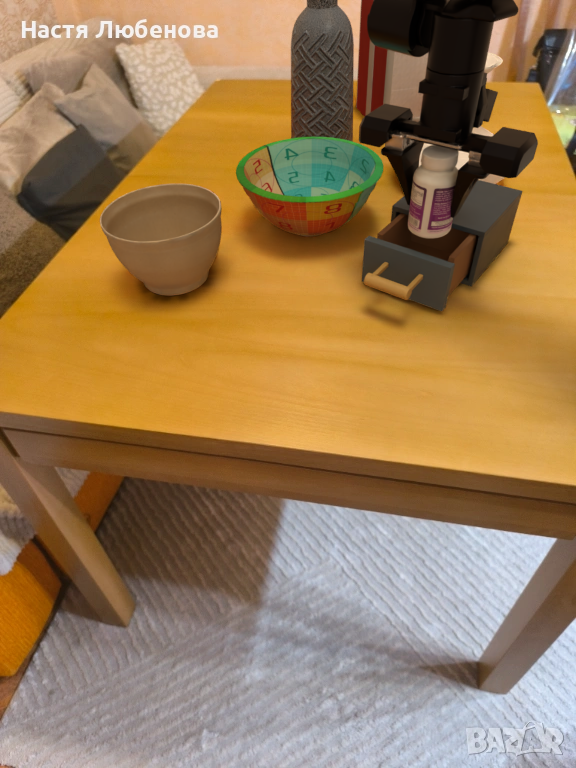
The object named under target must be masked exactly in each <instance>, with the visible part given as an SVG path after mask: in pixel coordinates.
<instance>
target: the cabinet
mask: <svg viewBox="0 0 576 768" xmlns="http://www.w3.org/2000/svg"><path fill="white" fill-rule="evenodd" d="M523 192H524V191H523V190H521V189H517V188H513V187H509V186H506V185H505V186H504V185H500V184H498V183H496V184H493V183H489V182H485V181H481V180H478V181H477V182H476V184H475V185H474V187H473V188H472V190H471V192H470V193H469V195H468V197H467V199H466V200H465V202H464V204H463V205H462V207H461V209H460V210H459V212H458V214H457V215H456V216H455V217H454V218H453V221H452V226H451V228H454V229H457V230H460V231H464V232H467V233H470V234H474V235H477V236H479V237H478V242H477V246H476V250H475V254H474V258H473V262H472V266H471V271H470V272H469V273H468V274H467V275H466V277H465V278H464V279H463V280H462V281H461V282H460V284H463V285H465V286H469V287H471V288H472V287H473V286H474V285H475V284H476V283H477V281H478V280H479V279H480V277H481V276H482V275H483V274H484V272H486V270H487V269H488V268H489V266H490V265H491V264H492V263H493V262H494V260H495V259H496V257H498V255H499V254H500V253H501V252H502V251H503V249H504V248H505V247H506V246H507V244H508V243H509V241H510V240H509V239H510V236H511V233H512V229H513V226H514V223H515V220H516V216H517V212H518V208H519V205H520V201H521V198H522V196H523ZM409 208H410V205H407V202H406V199H405V197H404V195H403V196H402V197H400V199H398V200H397V201H396V202H395V203H393V204H392V206H391V215H390V222H391V221H393V220H394V219H395V218H396V217H397V216H398V215H399V214H401V213H403V214H406V215H409Z"/></svg>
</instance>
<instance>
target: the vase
mask: <svg viewBox="0 0 576 768" xmlns="http://www.w3.org/2000/svg"><path fill="white" fill-rule="evenodd" d="M338 1H339V0H306V6H305V8H304V9H303V10H302V11H301V12H300V13H299V15H298V16H297V18H296V20H295V22H294V23H293V27H292V32H291V37H290V38H291V39H290V138H299V137H331V138H338V139H344V140H349V141H353V142H354V67H355V66H354V65H355V64H354V53H355V51H354V50H355V49H354V47H355V45H354V33H353V27H352V24H351V23H352V22H351V21H350V18H349V17H348V15H347V14H346V13H345V11H344V10H343V9H342V8H341V7H340V6H339V5H338Z"/></svg>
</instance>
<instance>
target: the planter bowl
mask: <svg viewBox="0 0 576 768" xmlns="http://www.w3.org/2000/svg"><path fill="white" fill-rule="evenodd" d="M99 225H100V228H101V231H102V232H103V234H104V235H105V237H106V239H107V242H108V245H109V246H110V248H111V251H112V252H113V254H114V256H115V257H116V259H117V260H118V261H119V263H120V264H121V265H122V266H123V267H124V268H125V269H126V271H128V272H129V273H130V274H131V275H132V276H133V277H134V278H136V279H137V280H139V281H140V282H141V283H143V285H144V286H145V288H146V289H147V290H148V291H150V292H151V293H153V294H156V295H160V296H179V295H183V294H188V293H190V292H192V291H195V290H196V289H198V288H199V287H201V286H202V285H204V283H205V282H206V280H207V279H208V277H209V272H210V271H209V270H210V269H211V267H212V266H213V264H214V261H215V259H216V257H217V255H218V251H219V248H220V245H221V239H222V229H223V228H222V226H223V225H222V201H221V198H219V196H218V195H217V194H216V193H215V192H214V191H212V190H210V189H208V188H207V187H204V186H201V185H197V184H192V183H191V184H190V183H162V184H156V185H150V186H149V185H148V186H146V187H141V188H137V189H135V190H131V191H130V192H127V193H125V194H123V195H121V196H119V197H117V198H116V199H114V200H113V201H111V202H110V203H109V204H107V206H105V208H104V209H103V211H102V212H101V214H100V217H99Z"/></svg>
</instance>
